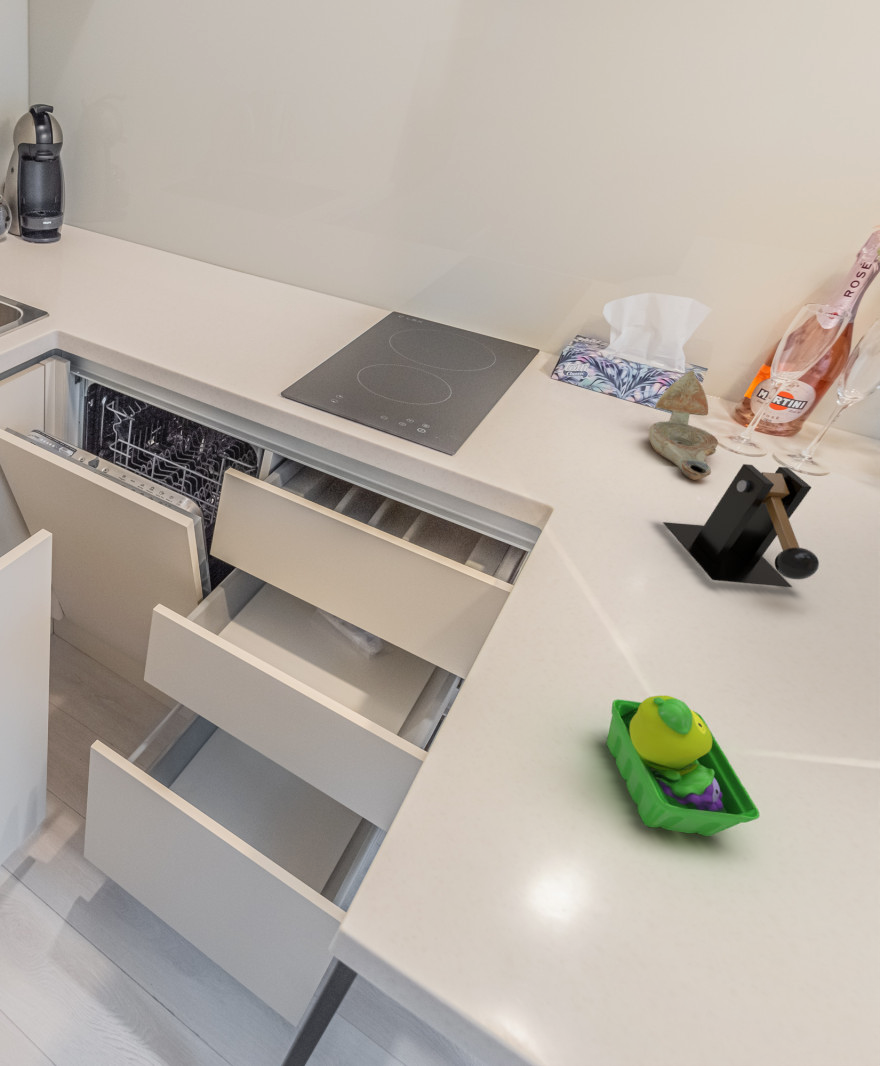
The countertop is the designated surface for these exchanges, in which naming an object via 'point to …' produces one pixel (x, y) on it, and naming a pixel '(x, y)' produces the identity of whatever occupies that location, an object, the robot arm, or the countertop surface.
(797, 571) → the switch lever
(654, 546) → the countertop surface
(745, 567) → the switch bracket
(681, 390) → the oil lamp
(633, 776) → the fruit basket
